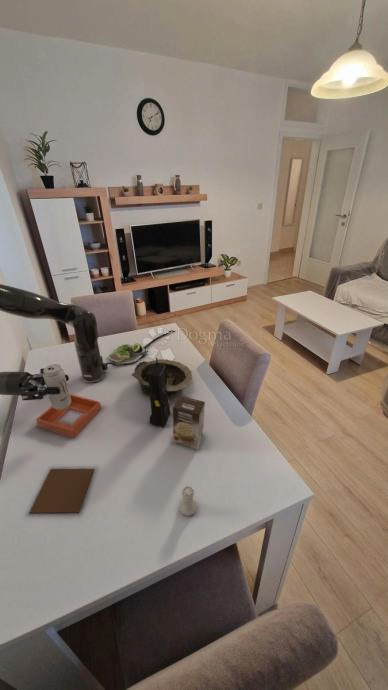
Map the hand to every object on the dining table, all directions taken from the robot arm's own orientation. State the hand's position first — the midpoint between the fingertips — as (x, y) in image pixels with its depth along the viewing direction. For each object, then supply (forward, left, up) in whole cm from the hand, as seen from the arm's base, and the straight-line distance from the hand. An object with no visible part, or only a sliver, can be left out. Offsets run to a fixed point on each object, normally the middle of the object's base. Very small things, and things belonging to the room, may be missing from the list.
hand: (64, 384), depth 89 cm
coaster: (+20, +13, -20) cm, 31 cm away
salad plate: (-50, -8, -20) cm, 54 cm away
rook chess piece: (+13, +48, -20) cm, 53 cm away
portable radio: (-14, +27, -20) cm, 36 cm away
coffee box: (-9, +40, -20) cm, 45 cm away
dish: (-4, -5, -20) cm, 21 cm away
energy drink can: (+1, -2, -9) cm, 10 cm away
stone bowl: (-33, +20, -20) cm, 43 cm away
